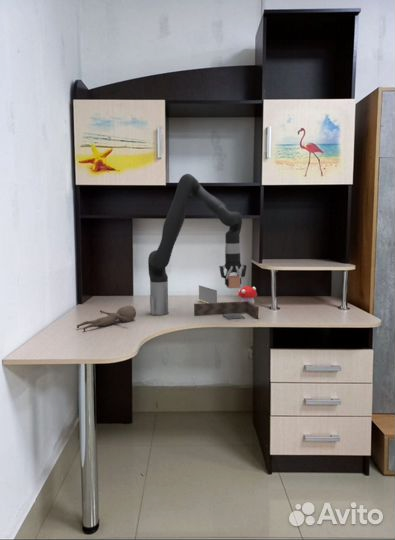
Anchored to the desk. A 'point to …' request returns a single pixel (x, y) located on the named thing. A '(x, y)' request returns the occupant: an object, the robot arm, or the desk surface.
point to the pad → (233, 316)
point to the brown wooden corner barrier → (226, 308)
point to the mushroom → (247, 294)
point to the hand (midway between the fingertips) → (233, 285)
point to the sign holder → (207, 295)
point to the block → (234, 281)
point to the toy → (112, 317)
